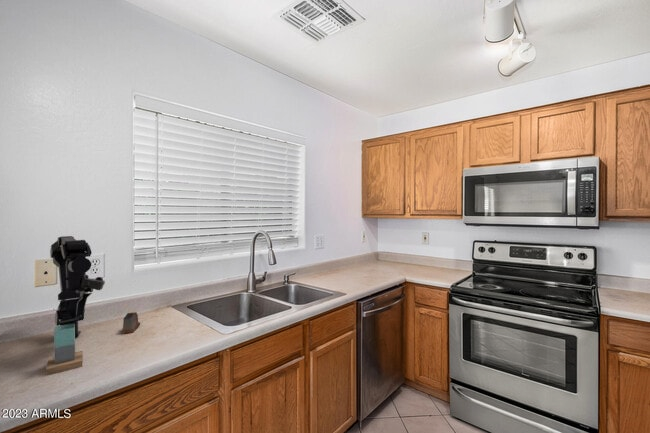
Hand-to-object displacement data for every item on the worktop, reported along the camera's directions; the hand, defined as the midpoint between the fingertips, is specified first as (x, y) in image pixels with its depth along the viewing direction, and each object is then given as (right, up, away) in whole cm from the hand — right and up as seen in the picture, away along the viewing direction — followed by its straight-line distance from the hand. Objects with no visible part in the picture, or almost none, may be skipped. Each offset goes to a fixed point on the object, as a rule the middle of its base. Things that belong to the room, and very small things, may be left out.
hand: (78, 315), depth 114 cm
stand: (+5, -13, -11) cm, 18 cm away
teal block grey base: (+5, -11, -11) cm, 17 cm away
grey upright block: (+7, -13, +20) cm, 25 cm away
